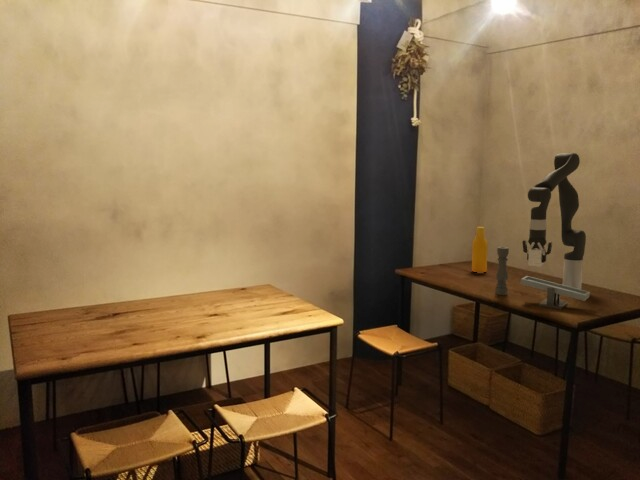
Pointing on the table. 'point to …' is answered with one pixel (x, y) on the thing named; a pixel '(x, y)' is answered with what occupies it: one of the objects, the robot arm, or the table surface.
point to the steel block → (535, 257)
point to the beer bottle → (479, 251)
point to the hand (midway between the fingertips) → (536, 261)
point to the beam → (558, 288)
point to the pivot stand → (552, 300)
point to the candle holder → (502, 271)
